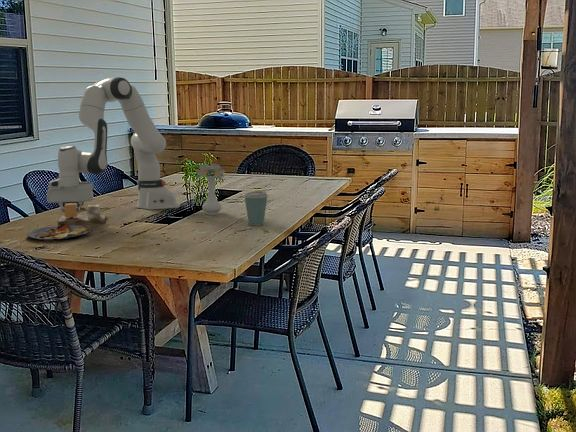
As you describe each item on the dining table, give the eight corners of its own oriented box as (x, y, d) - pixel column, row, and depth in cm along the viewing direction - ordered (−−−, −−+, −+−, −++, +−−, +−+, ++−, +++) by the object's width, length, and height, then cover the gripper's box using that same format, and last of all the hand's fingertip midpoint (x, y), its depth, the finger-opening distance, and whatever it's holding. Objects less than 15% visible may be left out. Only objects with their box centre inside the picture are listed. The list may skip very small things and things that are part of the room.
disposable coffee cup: (250, 227, 288) (249, 194, 286) (240, 223, 298) (240, 190, 295) (271, 225, 293) (271, 192, 290) (261, 221, 303) (261, 189, 300)
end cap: (71, 211, 327) (70, 197, 326) (60, 210, 330) (59, 196, 328) (84, 207, 336) (83, 194, 335) (73, 206, 339) (72, 194, 337)
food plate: (69, 227, 287) (69, 219, 287) (101, 235, 273) (100, 227, 272) (16, 238, 269) (15, 229, 268) (46, 247, 254) (46, 238, 253)
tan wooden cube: (77, 214, 303) (77, 203, 302) (76, 216, 298) (75, 205, 297) (66, 215, 302) (65, 203, 301) (65, 217, 297) (64, 205, 296)
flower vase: (227, 210, 330) (227, 161, 325) (221, 217, 312) (220, 165, 307) (202, 210, 331) (201, 161, 326) (194, 216, 313) (193, 165, 308)
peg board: (106, 217, 310) (105, 203, 309) (103, 223, 297) (103, 208, 295) (62, 218, 307) (61, 204, 305) (57, 224, 293) (56, 209, 292)
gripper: (93, 180, 302) (95, 209, 305) (47, 181, 299) (49, 211, 301) (92, 182, 296) (93, 212, 299) (45, 183, 292) (47, 213, 295)
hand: (71, 211), depth 300 cm, fingers closed on tan wooden cube, 5 cm apart
